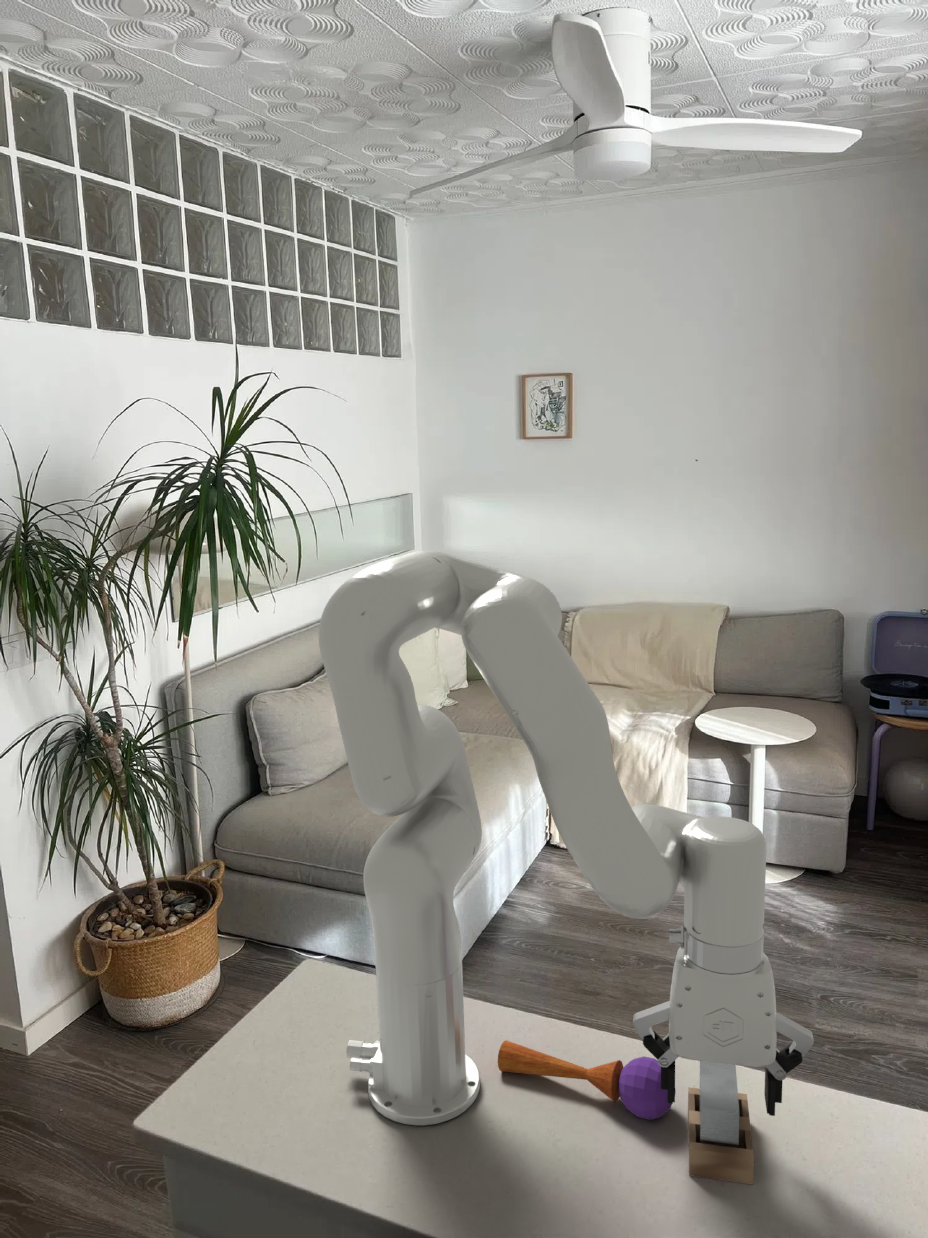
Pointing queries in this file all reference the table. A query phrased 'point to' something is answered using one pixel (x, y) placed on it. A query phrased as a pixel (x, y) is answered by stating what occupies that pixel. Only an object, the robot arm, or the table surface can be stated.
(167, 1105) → the table surface
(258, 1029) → the table surface
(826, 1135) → the table surface
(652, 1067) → the kendama
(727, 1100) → the steel brick
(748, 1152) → the wooden frame
